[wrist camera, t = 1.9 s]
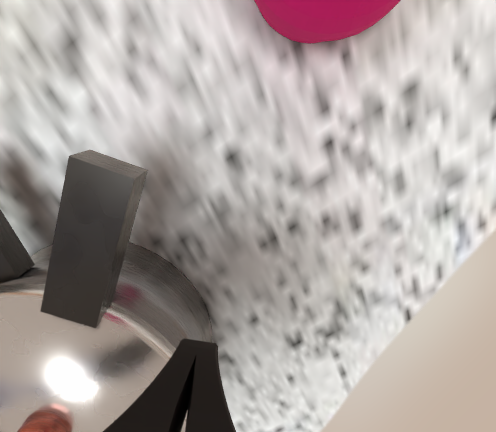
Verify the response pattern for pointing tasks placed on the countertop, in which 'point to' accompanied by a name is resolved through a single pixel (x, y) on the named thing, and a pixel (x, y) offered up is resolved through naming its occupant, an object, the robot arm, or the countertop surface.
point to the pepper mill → (322, 17)
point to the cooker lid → (79, 314)
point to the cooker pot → (124, 286)
